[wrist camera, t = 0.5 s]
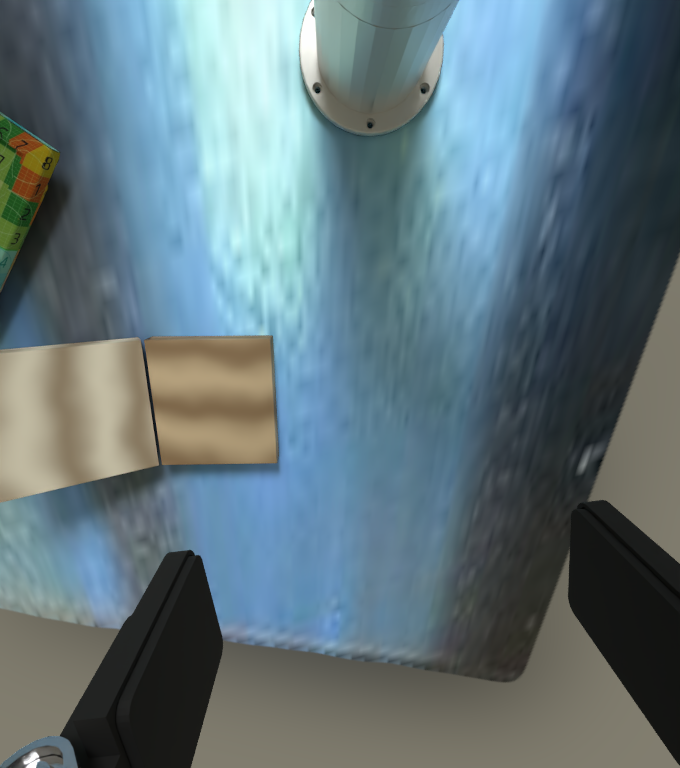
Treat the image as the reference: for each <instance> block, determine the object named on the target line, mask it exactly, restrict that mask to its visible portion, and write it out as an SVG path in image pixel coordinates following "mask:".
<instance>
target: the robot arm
mask: <svg viewBox="0 0 680 768" xmlns="http://www.w3.org/2000/svg"><path fill="white" fill-rule="evenodd" d="M458 2H459V0H311V2H310V3H309V6H308V8H307V11H306V13H305V16H304V18H303V23H302V27H301V32H300V41H299V57H300V65H301V71H302V76H303V80H304V83H305V86H306V88H307V91H308V94H309V95H310V97H311V99H312V101H313V102H314V104H315V106H316V107H317V108H318V109H319V111H320V112H321V113H322V114H323V115H324V117H325V118H327V119H328V120H329V121H330V122H332V123H333V124H334V125H335V126H337V127H339V128H341V129H343V130H345V131H347V132H350V133H353V134H357V135H362V136H377V135H383V134H387V133H390V132H392V131H395V130H397V129H399V128H401V127H402V126H404V125H405V124H407V123H408V122H410V121H411V120H412V119H413V118H414V117H415V116H416V115H417V114H418V113H419V112H420V111H421V109H422V108H423V107H424V105H425V104H426V103H427V101H428V100H429V98H430V96H431V95H432V93H433V91H434V89H435V86H436V84H437V81H438V79H439V76H440V72H441V67H442V62H443V51H444V40H443V32H444V30H445V28H446V26H447V24H448V22H449V20H450V18H451V16H452V14H453V12H454V10H455V8H456V6H457V4H458ZM314 16H315V18H313V17H314ZM316 89H319V90H320V93H318V94H317V93H315V90H316ZM421 89H424V90H425V94H423V93H421V91H420V90H421ZM369 123H370V124H372V126H373V127H372V128H371V129H370V128H368V127H367V125H368V124H369ZM568 599H569V603H570V607H571V609H572V611H573V613H574V614H575V616H576V617H577V619H578V620H579V622H580V623H581V625H582V626H583V627H584V629H585V630H586V632H587V633H588V635H589V636H590V637H591V639H592V640H593V642H594V643H595V645H596V646H597V648H598V649H599V651H600V652H601V653H602V655H603V656H604V658H605V659H606V661H607V662H608V663H609V665H610V666H611V668H612V669H613V671H614V672H615V674H616V675H617V677H618V678H619V679H620V681H621V682H622V684H623V685H624V687H625V688H626V690H627V691H628V692H629V694H630V695H631V697H632V698H633V700H634V701H635V703H636V704H637V705H638V707H639V708H640V710H641V711H642V713H643V714H644V715H645V717H646V718H647V720H648V721H649V723H650V724H651V726H652V727H653V729H654V730H655V731H656V733H657V734H658V736H659V737H660V739H661V740H662V741H663V743H664V744H665V746H666V747H667V749H668V750H669V752H670V753H671V754H672V756H673V757H674V759H675V760H676V761H677V763H678V764H679V765H680V564H679V563H678V562H677V561H676V560H675V559H674V558H672V557H671V556H670V555H669V554H668V553H667V552H665V551H664V550H663V549H662V548H661V547H660V546H658V545H657V544H656V543H655V542H654V541H653V540H651V539H650V538H649V537H648V536H647V535H646V534H644V533H643V532H642V531H641V530H640V529H639V528H638V527H637V526H635V525H634V524H633V523H632V522H631V521H629V520H628V519H627V518H626V517H625V516H624V515H623V514H621V513H620V512H619V511H618V510H617V509H616V508H614V507H613V506H612V505H611V504H610V503H608V502H607V501H604V500H600V501H592V502H583V503H580V504H579V505H578V506H577V509H576V510H573V511H572V514H571V535H570V561H569V588H568ZM222 649H223V639H222V634H221V630H220V627H219V623H218V619H217V615H216V611H215V607H214V604H213V600H212V596H211V592H210V588H209V584H208V581H207V577H206V573H205V569H204V565H203V561H202V558H201V557H200V556H199V555H196V556H195V554H194V552H193V551H191V550H187V551H178V552H170V553H168V554H166V556H165V557H164V559H163V561H162V563H161V564H160V566H159V568H158V570H157V572H156V573H155V575H154V577H153V579H152V580H151V582H150V584H149V586H148V588H147V589H146V591H145V593H144V595H143V597H142V598H141V600H140V602H139V604H138V605H137V607H136V609H135V611H134V613H133V614H132V615H131V616H130V617H128V618H127V620H126V621H125V623H124V624H123V626H122V628H121V629H120V631H119V633H118V635H117V636H116V638H115V640H114V642H113V643H112V645H111V647H110V649H109V650H108V652H107V654H106V656H105V658H104V659H103V661H102V663H101V664H100V666H99V668H98V670H97V671H96V673H95V675H94V677H93V678H92V680H91V682H90V684H89V685H88V688H87V689H86V691H85V693H84V694H83V696H82V698H81V699H80V701H79V703H78V705H77V706H76V708H75V710H74V712H73V714H72V715H71V717H70V719H69V721H68V722H67V724H66V726H65V728H64V729H63V731H62V733H61V735H60V736H48V737H45V738H42V739H39V740H36V741H34V742H32V743H30V744H29V745H27V746H25V747H23V748H21V749H20V750H18V751H17V752H16V753H15V754H13V755H12V756H11V757H9V758H8V759H7V760H6V761H4V762H3V763H2V764H1V766H0V768H191V764H192V761H193V757H194V754H195V750H196V746H197V742H198V739H199V736H200V732H201V728H202V725H203V721H204V717H205V713H206V710H207V707H208V703H209V699H210V695H211V692H212V688H213V685H214V681H215V677H216V674H217V670H218V667H219V663H220V659H221V656H222Z"/></svg>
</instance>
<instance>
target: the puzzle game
mask: <svg viewBox="0 0 680 768" xmlns="http://www.w3.org/2000/svg"><path fill="white" fill-rule="evenodd" d="M59 156H60V152H59V151H57V150H56V149H54V148H53V147H51V146H50V145H49V144H47V143H46V142H44V141H43V140H41V139H40V138H38V137H37V136H35V135H34V134H32V133H31V132H29V131H28V130H26V129H25V128H23V127H22V126H20V125H19V124H17V123H16V122H14V121H13V120H11V119H10V118H9V117H7V116H6V115H4V114H3V113H1V112H0V293H1V291H2V289H3V287H4V284H5V282H6V280H7V278H8V276H9V273H10V271H11V269H12V267H13V264H14V262H15V260H16V258H17V256H18V253H19V251H20V249H21V247H22V245H23V242H24V240H25V238H26V236H27V234H28V231H29V229H30V227H31V225H32V222H33V220H34V218H35V216H36V214H37V211H38V209H39V207H40V205H41V203H42V200H43V198H44V196H45V194H46V191H47V189H48V185H47V184H48V182H49V180H50V177H51V175H52V173H53V171H54V168H55V166H56V164H57V163H58V161H59Z"/></svg>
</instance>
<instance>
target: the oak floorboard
mask: <svg viewBox="0 0 680 768" xmlns="http://www.w3.org/2000/svg"><path fill="white" fill-rule="evenodd" d="M144 343H145V350H146V357H147V364H148V371H149V378H150V385H151V391H152V398H153V405H154V412H155V419H156V426H157V433H158V440H159V447H160V454H161V461H162V465H183V464H252V463H277V460H278V457H279V447H278V428H277V408H276V389H275V370H274V351H273V336H162V337H150V338H148V339H146V340H144Z"/></svg>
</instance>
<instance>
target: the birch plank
mask: <svg viewBox="0 0 680 768" xmlns="http://www.w3.org/2000/svg"><path fill="white" fill-rule="evenodd" d="M158 465H159V462H158V456H157V449H156V442H155V435H154V428H153V421H152V414H151V408H150V401H149V394H148V387H147V380H146V373H145V366H144V359H143V353H142V346H141V340H140V339H139V338H138V337H136V338H125V339H114V340H103V341H92V342H81V343H70V344H59V345H48V346H37V347H26V348H15V349H4V350H0V502H5V501H9V500H13V499H17V498H22V497H26V496H30V495H34V494H39V493H43V492H47V491H51V490H56V489H60V488H64V487H68V486H73V485H77V484H81V483H86V482H90V481H94V480H98V479H103V478H107V477H111V476H115V475H120V474H124V473H128V472H132V471H137V470H141V469H145V468H149V467H154V466H158Z"/></svg>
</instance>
